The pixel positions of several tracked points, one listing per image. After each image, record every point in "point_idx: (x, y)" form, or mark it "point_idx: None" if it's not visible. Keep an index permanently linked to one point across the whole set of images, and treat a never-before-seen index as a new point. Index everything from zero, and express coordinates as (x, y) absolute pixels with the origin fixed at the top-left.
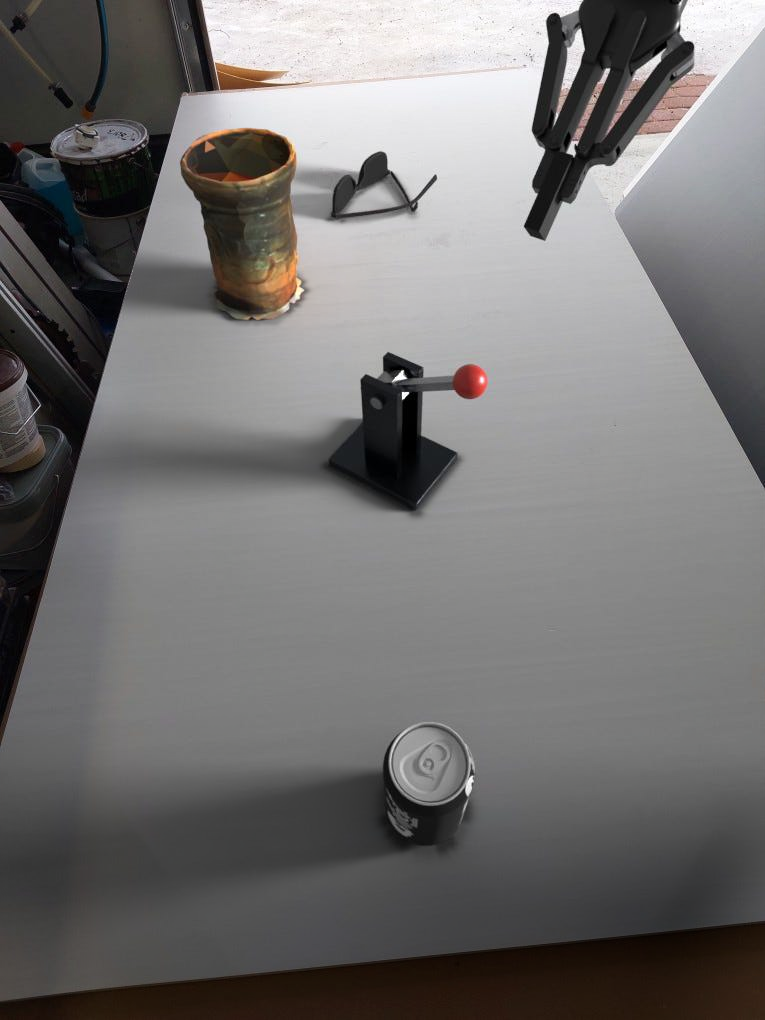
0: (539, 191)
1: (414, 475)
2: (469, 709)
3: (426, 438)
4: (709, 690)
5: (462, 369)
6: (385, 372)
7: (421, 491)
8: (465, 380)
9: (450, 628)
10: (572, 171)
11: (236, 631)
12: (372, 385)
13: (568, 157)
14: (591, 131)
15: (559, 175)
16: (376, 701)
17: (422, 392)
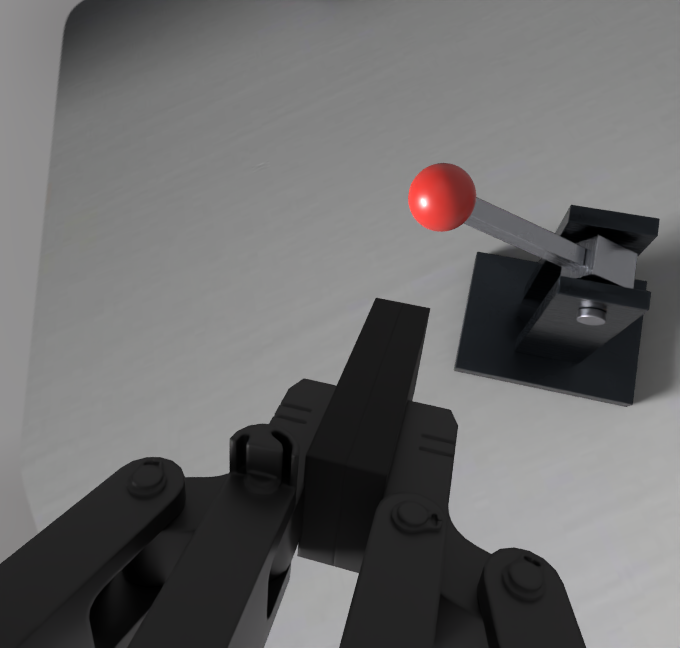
0: (411, 369)
1: (502, 299)
2: (324, 55)
3: (515, 378)
4: (93, 163)
5: (461, 178)
6: (627, 284)
7: (479, 275)
8: (446, 164)
9: (371, 124)
10: (301, 441)
11: (605, 31)
12: (628, 214)
13: (324, 450)
14: (224, 550)
15: (347, 398)
16: (417, 27)
17: (542, 312)
